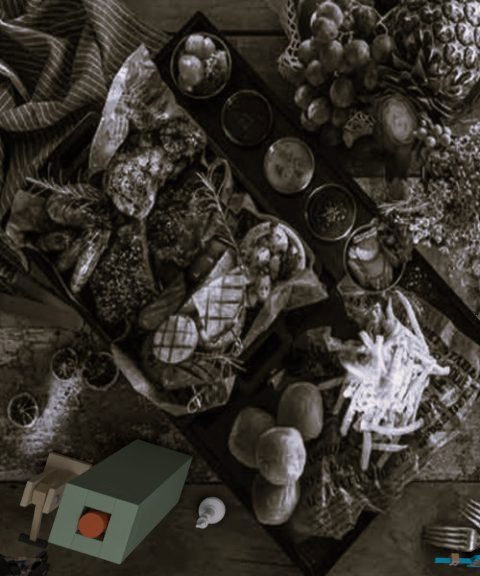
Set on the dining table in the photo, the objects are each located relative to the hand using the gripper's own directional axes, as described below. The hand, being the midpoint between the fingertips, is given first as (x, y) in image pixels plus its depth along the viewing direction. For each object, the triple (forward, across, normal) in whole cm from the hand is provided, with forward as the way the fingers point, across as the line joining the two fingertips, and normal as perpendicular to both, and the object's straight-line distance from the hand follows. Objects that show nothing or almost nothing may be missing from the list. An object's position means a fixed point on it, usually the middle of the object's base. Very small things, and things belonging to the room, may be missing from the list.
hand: (20, 548), depth 132 cm
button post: (+11, -16, -17) cm, 26 cm away
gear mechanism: (+2, -79, -25) cm, 83 cm away
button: (-20, -16, -17) cm, 30 cm away
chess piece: (+11, -28, -13) cm, 33 cm away
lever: (+4, 0, -5) cm, 7 cm away
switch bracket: (+11, 0, -10) cm, 15 cm away
